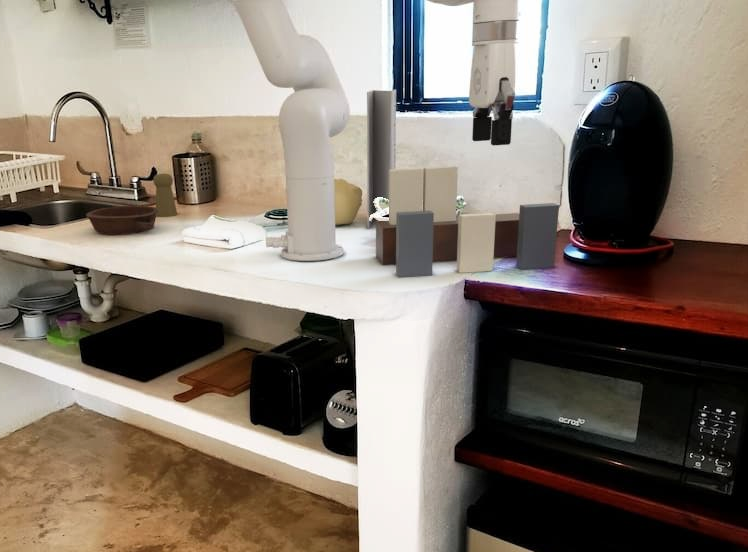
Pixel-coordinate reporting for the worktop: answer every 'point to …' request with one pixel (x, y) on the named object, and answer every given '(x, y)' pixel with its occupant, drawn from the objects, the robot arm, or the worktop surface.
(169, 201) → the olive pawn piece
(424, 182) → the cream book
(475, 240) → the cream book
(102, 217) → the dish
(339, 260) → the worktop surface
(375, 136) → the tall grey panel
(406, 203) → the cream book
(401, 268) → the grey book left
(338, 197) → the sculpture
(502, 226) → the book shelf
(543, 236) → the grey rectangular block
